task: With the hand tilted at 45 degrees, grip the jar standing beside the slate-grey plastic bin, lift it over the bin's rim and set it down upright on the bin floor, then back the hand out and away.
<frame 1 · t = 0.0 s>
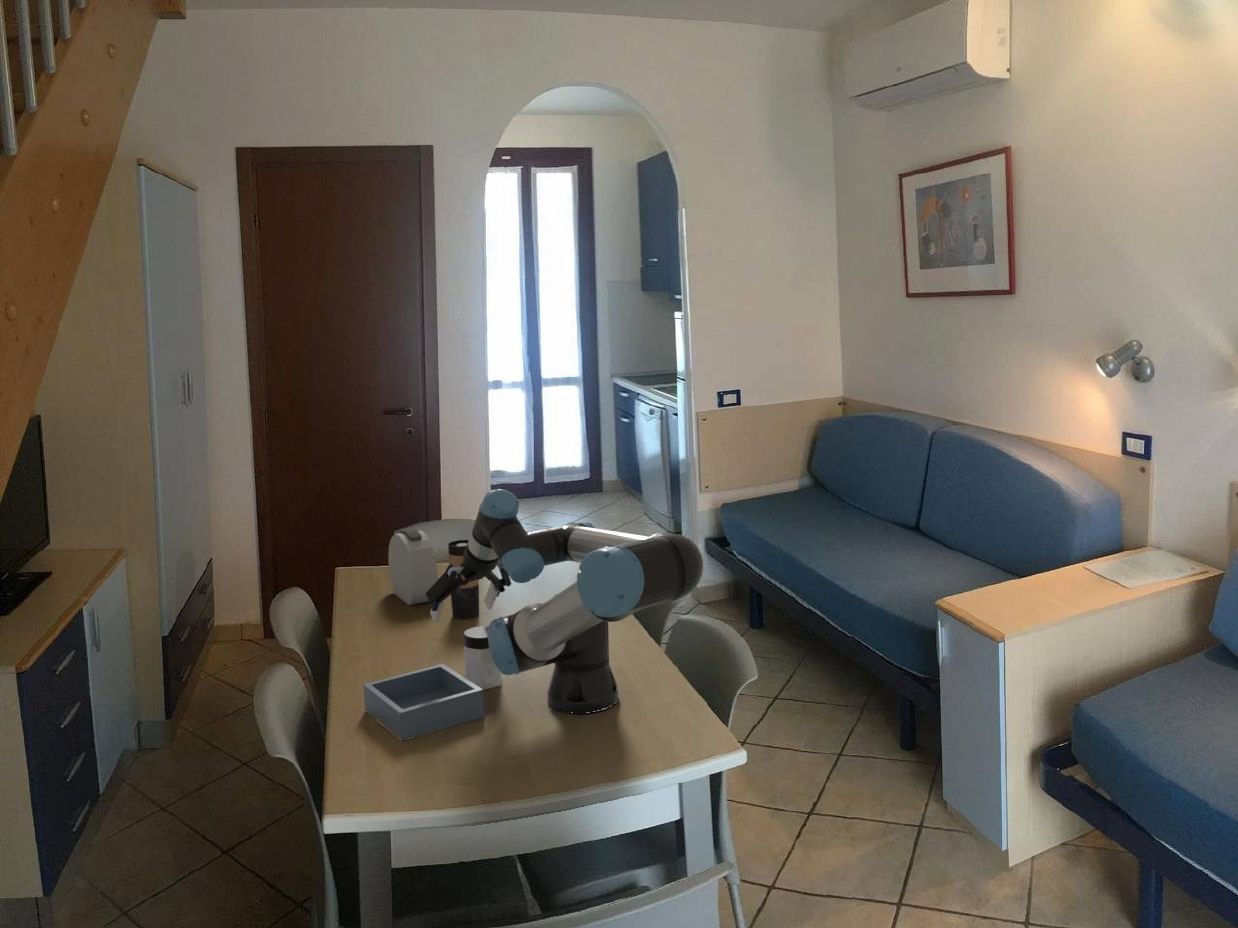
hand: (461, 611, 232), 15 cm above the table, tool tilted 35°, fingers open, 13 cm apart
bin: (424, 713, 215), on the table
jar: (484, 683, 231), on the table
travel mug: (466, 615, 277), on the table
alarm clock: (414, 597, 294), on the table
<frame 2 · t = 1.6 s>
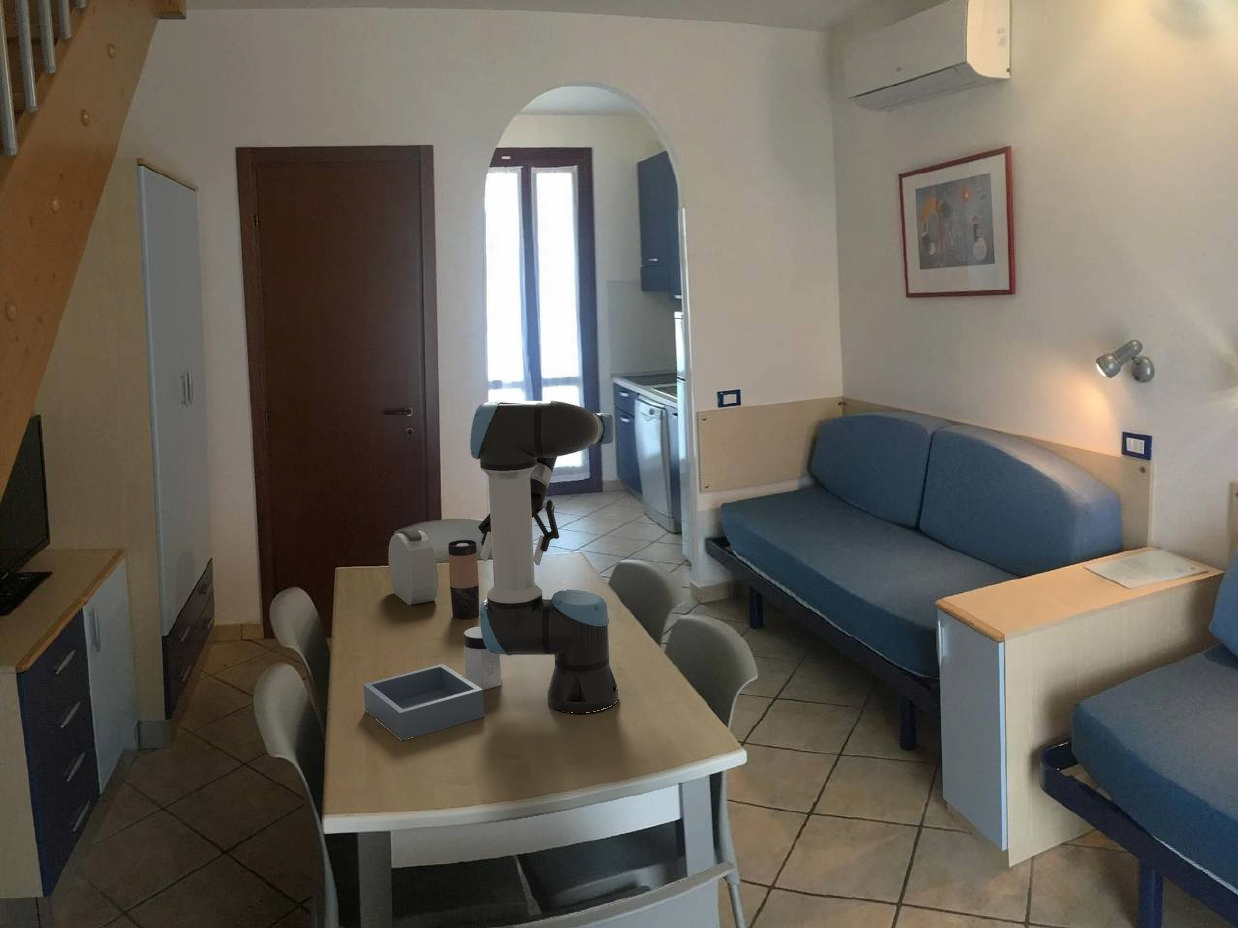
hand: (509, 560, 240), 24 cm above the table, tool tilted 45°, fingers open, 13 cm apart
nothing on the table moved.
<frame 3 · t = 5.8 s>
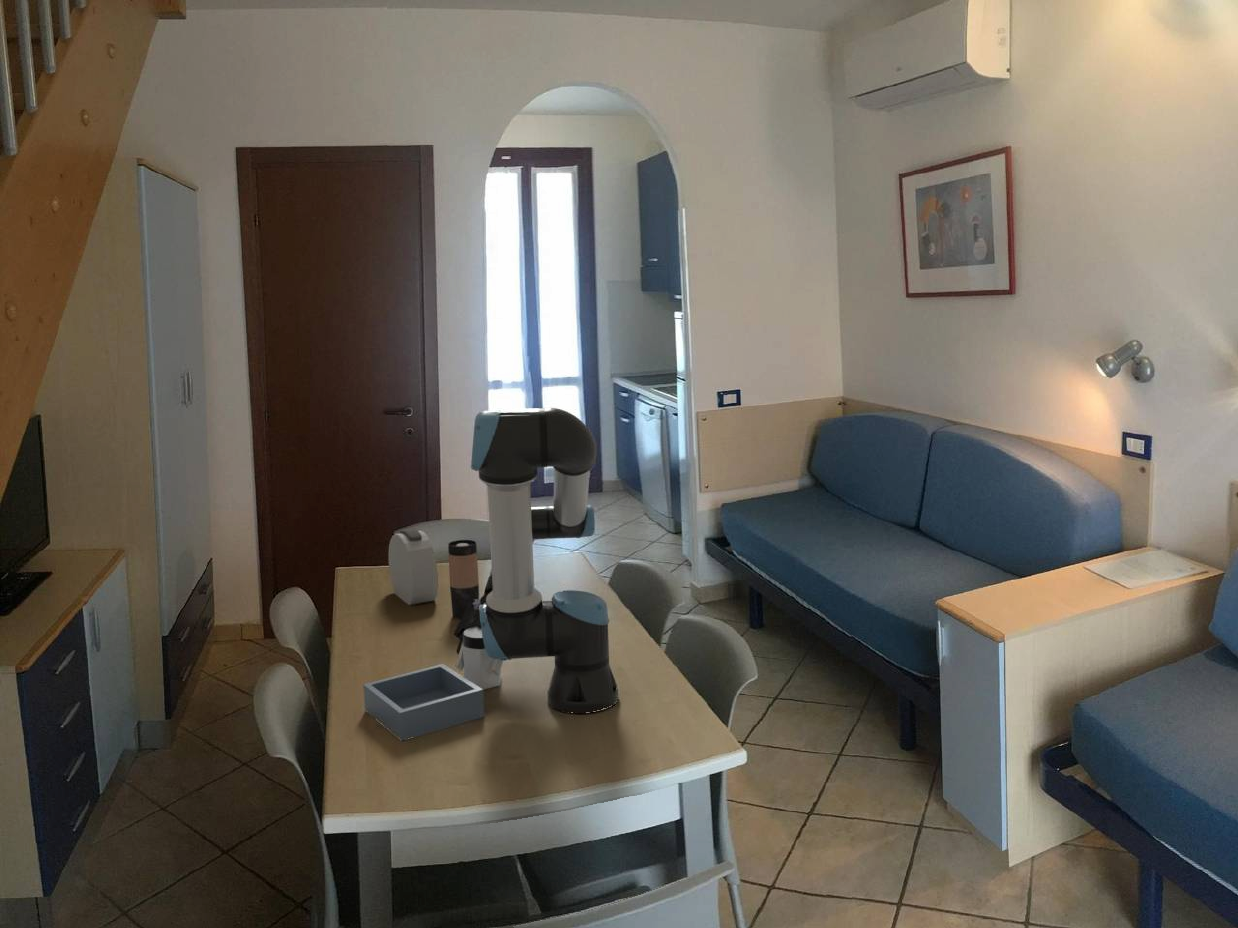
hand: (476, 670, 227), 4 cm above the table, tool tilted 45°, fingers closed on jar, 8 cm apart
jar: (483, 683, 231), on the table, touching gripper
everything else where it was.
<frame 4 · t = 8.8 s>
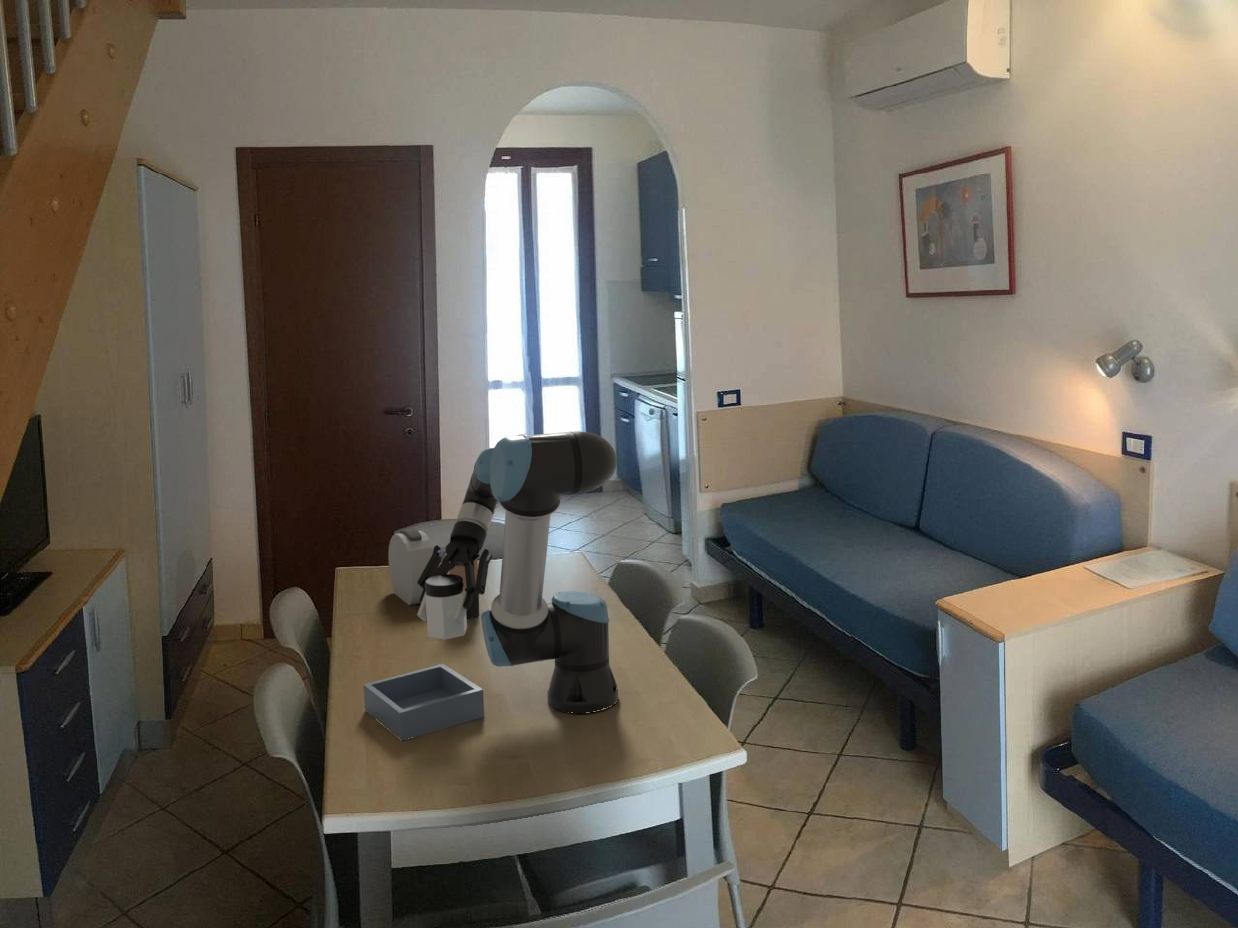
hand: (439, 619, 218), 18 cm above the table, tool tilted 45°, fingers closed on jar, 8 cm apart
jar: (447, 633, 223), point 14 cm above the table, touching gripper
everything else where it was.
when the fingers open (7 cm above the table, at t = 12.3 s): jar drops 1 cm, resting on bin.
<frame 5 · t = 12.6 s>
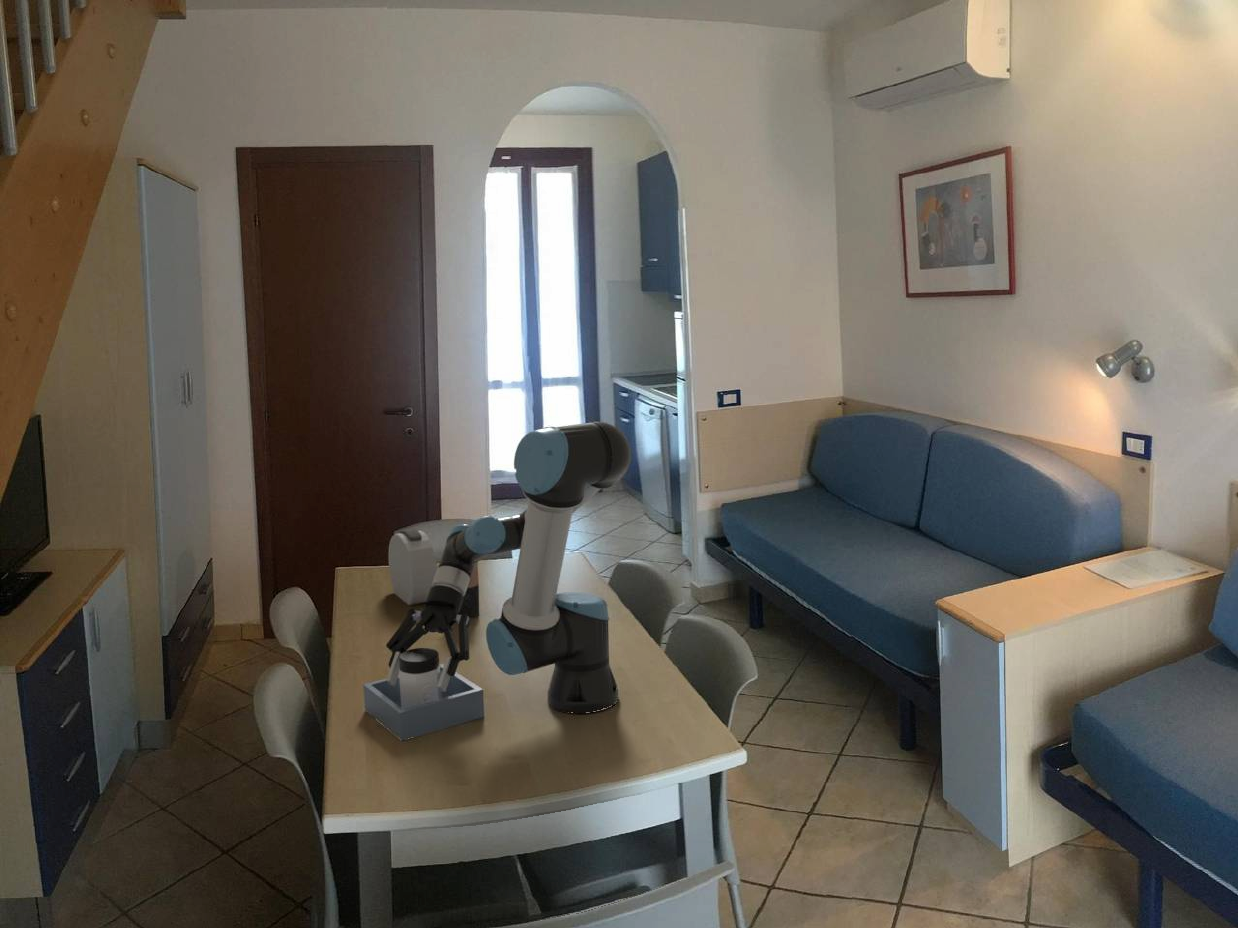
hand: (415, 686, 211), 7 cm above the table, tool tilted 45°, fingers open, 11 cm apart
jar: (422, 709, 215), point 1 cm above the table, touching bin
everything else where it was.
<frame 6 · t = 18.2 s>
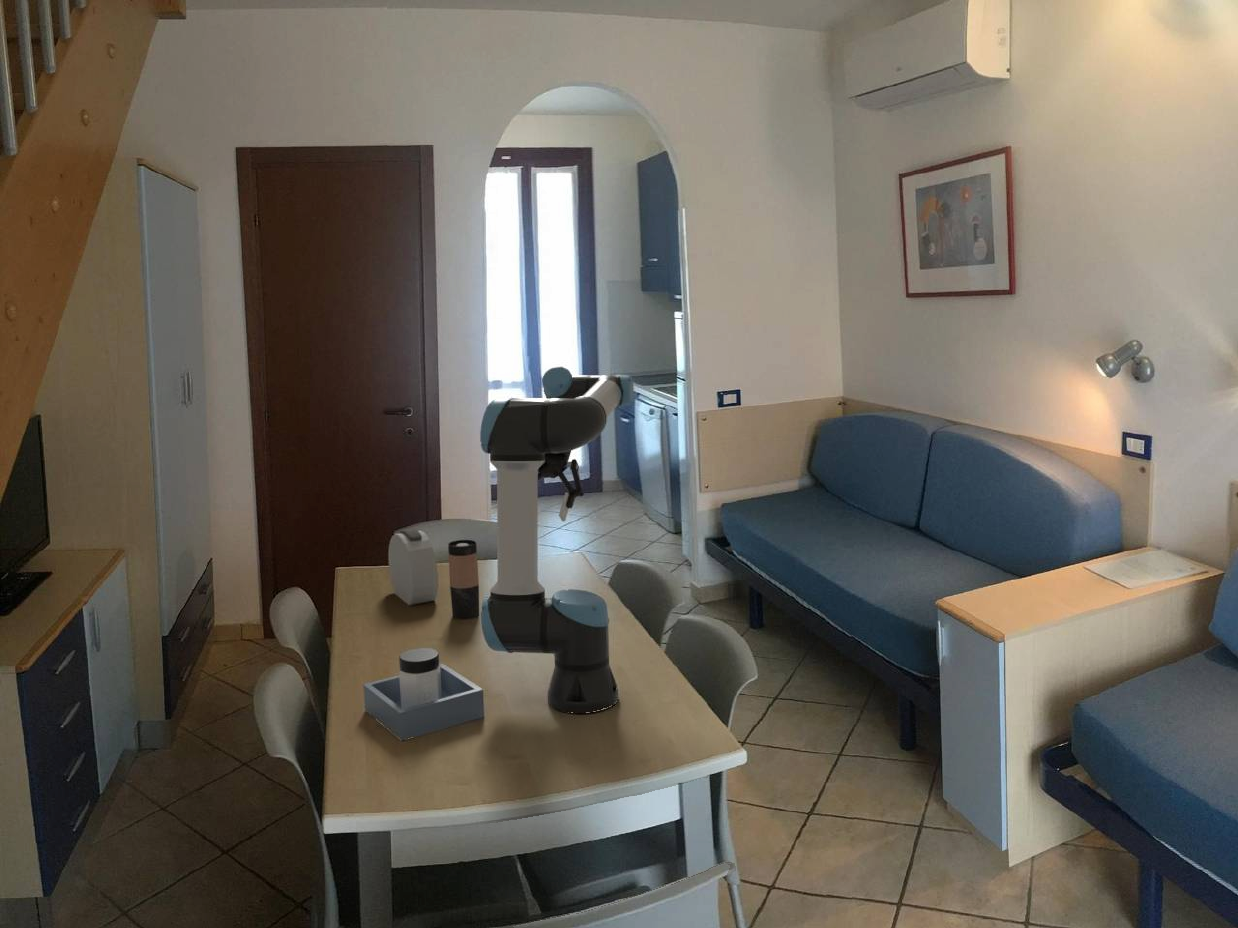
hand: (535, 516, 247), 33 cm above the table, tool tilted 45°, fingers open, 13 cm apart
nothing on the table moved.
at the end: jar inside the target area on the bin (0.4 cm from its centre), point 0.8 cm above the bin's base; jar tilted 0°; the gripper is holding nothing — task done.
